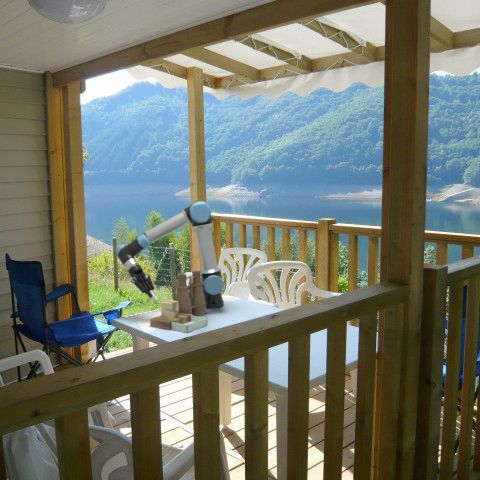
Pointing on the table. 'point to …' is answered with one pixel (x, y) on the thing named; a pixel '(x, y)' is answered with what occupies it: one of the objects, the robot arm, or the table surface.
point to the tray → (190, 324)
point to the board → (169, 321)
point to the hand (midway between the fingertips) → (156, 301)
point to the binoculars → (191, 295)
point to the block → (169, 309)
